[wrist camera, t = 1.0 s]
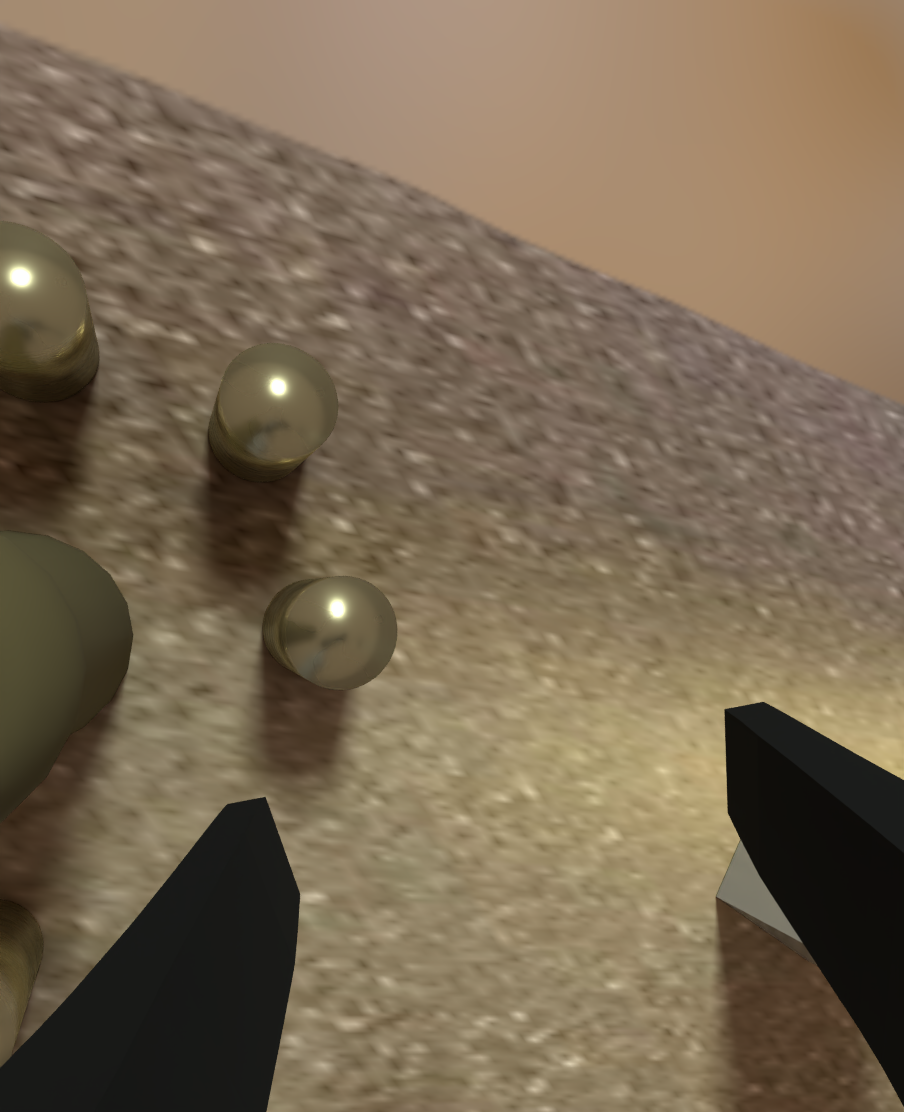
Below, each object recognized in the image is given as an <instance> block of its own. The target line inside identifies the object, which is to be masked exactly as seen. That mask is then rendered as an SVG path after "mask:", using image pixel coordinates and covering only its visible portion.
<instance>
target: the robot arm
mask: <svg viewBox="0 0 904 1112" xmlns="http://www.w3.org/2000/svg"><path fill="white" fill-rule="evenodd" d="M725 741H726V772H727V804H728V814H729V816H730V818H731V820H732V823H733V825H734V827H735V829H736V831H737V833H738V835H739V837H740V839H741V841H742V843H743V845H744V847H745V849H746V851H747V853H748V855H749V857H750V859H751V861H752V863H753V865H754V867H755V869H756V870H757V872H758V874H759V876H760V878H761V879H762V881H763V883H764V884H765V886H766V887H767V889H768V890H769V892H770V894H771V895H772V897H773V898H774V900H775V901H776V903H777V904H778V906H779V907H780V909H781V911H782V912H783V914H784V915H785V917H786V918H787V920H788V921H789V923H790V924H791V926H792V928H793V929H794V931H795V932H796V934H797V935H798V937H799V938H800V940H801V941H802V943H803V944H804V946H805V947H806V949H807V950H808V952H809V953H810V955H811V956H812V958H813V960H814V961H815V963H816V964H817V966H818V967H819V969H820V970H821V972H822V973H823V975H824V976H825V978H826V979H827V981H828V982H829V984H830V985H831V987H832V988H833V990H834V992H835V993H836V995H837V996H838V998H839V999H840V1001H841V1002H842V1004H843V1005H844V1007H845V1008H846V1010H847V1011H848V1013H849V1014H850V1016H851V1017H852V1019H853V1020H854V1022H855V1024H856V1025H857V1027H858V1028H859V1030H860V1031H861V1033H862V1035H863V1036H864V1038H865V1040H866V1041H867V1043H868V1045H869V1046H870V1048H871V1049H872V1051H873V1053H874V1054H875V1056H876V1058H877V1059H878V1061H879V1063H880V1064H881V1066H882V1068H883V1069H884V1071H885V1073H886V1075H887V1077H888V1079H889V1080H890V1082H891V1084H892V1086H893V1088H894V1090H895V1091H896V1093H897V1095H898V1097H899V1099H900V1101H901V1102H902V1104H903V1106H904V780H903V779H901V778H899V777H897V776H895V775H893V774H891V773H890V772H888V771H886V770H884V769H882V768H881V767H879V766H877V765H875V764H873V763H871V762H870V761H868V760H866V759H864V758H862V757H861V756H859V755H857V754H855V753H853V752H852V751H850V750H848V749H846V748H845V747H843V746H841V745H839V744H838V743H836V742H834V741H832V740H831V739H829V738H827V737H825V736H824V735H822V734H820V733H818V732H817V731H815V730H813V729H811V728H810V727H808V726H806V725H804V724H803V723H801V722H799V721H797V720H796V719H794V718H792V717H790V716H789V715H787V714H785V713H783V712H781V711H780V710H778V709H776V708H774V707H772V706H770V705H769V704H767V703H765V702H760V703H755V704H750V705H745V706H739V707H734V708H729V709H725ZM299 904H300V892H299V890H298V887H297V884H296V881H295V878H294V876H293V873H292V870H291V867H290V864H289V862H288V859H287V856H286V853H285V850H284V848H283V845H282V842H281V839H280V836H279V834H278V831H277V828H276V825H275V822H274V819H273V817H272V814H271V811H270V808H269V805H268V803H267V800H266V797H263V798H257V799H252V800H247V801H242V802H236V803H231V804H227V805H226V806H225V807H224V808H223V810H222V811H221V812H220V813H219V814H218V816H217V817H216V818H215V819H214V821H213V822H212V823H211V824H210V826H209V827H208V828H207V830H206V831H205V832H204V833H203V835H202V836H201V837H200V838H199V840H198V841H197V842H196V844H195V845H194V846H193V847H192V849H191V850H190V851H189V853H188V854H187V855H186V856H185V858H184V859H183V860H182V862H181V863H180V864H179V865H178V867H177V868H176V869H175V871H174V872H173V873H172V874H171V876H170V877H169V878H168V879H167V881H166V882H165V883H164V884H163V886H162V887H161V888H160V889H159V891H158V892H157V893H156V894H155V895H154V897H153V898H152V899H151V900H150V902H149V903H148V904H147V905H146V907H145V908H144V909H143V910H142V912H141V913H140V914H139V915H138V917H137V918H136V919H135V920H134V922H133V923H132V924H131V925H130V926H129V928H128V929H127V930H126V931H125V932H124V933H123V934H122V936H121V937H120V938H119V939H118V940H117V941H116V943H115V944H114V945H113V946H112V947H111V948H110V949H109V951H108V952H107V953H106V954H105V955H104V956H103V958H102V959H101V960H100V961H99V962H98V963H97V964H96V966H95V967H94V968H93V969H92V970H91V971H90V973H89V974H88V975H87V976H86V977H85V978H84V980H83V981H82V982H81V983H80V984H79V985H78V986H77V988H76V989H75V990H74V991H73V992H72V993H71V994H70V995H69V997H68V998H67V999H66V1000H65V1001H64V1002H63V1003H62V1004H61V1005H60V1006H59V1007H58V1009H57V1010H56V1011H55V1012H54V1013H53V1014H52V1015H51V1016H50V1017H49V1018H48V1019H47V1020H46V1021H45V1022H44V1023H43V1025H42V1026H41V1027H40V1028H39V1029H38V1030H37V1031H36V1032H35V1033H34V1034H33V1035H32V1036H31V1037H30V1038H29V1039H28V1040H27V1041H26V1042H25V1043H24V1044H23V1045H22V1046H21V1047H20V1048H19V1049H18V1050H17V1051H16V1052H15V1053H14V1054H13V1055H12V1056H11V1057H10V1058H9V1059H8V1060H7V1061H6V1062H5V1063H4V1064H3V1065H2V1066H1V1067H0V1112H266V1111H267V1106H268V1100H269V1095H270V1090H271V1085H272V1080H273V1075H274V1070H275V1065H276V1060H277V1055H278V1050H279V1045H280V1039H281V1034H282V1029H283V1024H284V1019H285V1014H286V1008H287V1003H288V998H289V993H290V987H291V982H292V977H293V971H294V965H295V956H296V945H297V933H298V919H299Z"/></svg>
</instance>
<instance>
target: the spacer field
mask: <svg viewBox="0 0 904 1112" xmlns="http://www.w3.org/2000/svg"><path fill="white" fill-rule="evenodd" d="M98 364H99V347H98V342H97V338H96V333H95V329H94V325H93V320H92V316H91V312H90V307H89V303H88V298H87V294H86V290H85V285H84V282H83V279H82V276H81V274H80V272H79V269H78V267H77V266H76V264H75V263H74V261H73V260H72V258H71V257H70V256H69V255H68V254H67V252H66V251H65V250H64V249H63V248H61V247H60V246H59V245H58V244H57V243H56V242H54V241H53V240H52V239H50V238H49V237H47V236H46V235H44V234H42V233H40V232H38V231H36V230H34V229H32V228H29V227H26V226H24V225H20V224H16V223H12V222H5V221H0V388H1V389H2V390H4V391H5V392H7V393H9V394H11V395H13V396H16V397H18V398H21V399H25V400H29V401H35V402H53V401H59V400H63V399H66V398H69V397H71V396H73V395H75V394H77V393H78V392H80V391H81V390H82V389H84V388H85V387H86V386H87V385H88V384H89V383H90V381H91V380H92V378H93V377H94V375H95V373H96V371H97V367H98ZM337 415H338V399H337V393H336V390H335V387H334V384H333V382H332V380H331V378H330V376H329V375H328V373H327V372H326V370H325V369H324V368H323V366H322V365H321V364H320V363H319V362H318V361H317V360H315V359H314V358H313V357H312V356H310V355H309V354H307V353H306V352H304V351H302V350H300V349H298V348H295V347H293V346H290V345H285V344H278V343H267V344H260V345H257V346H254V347H251V348H249V349H247V350H245V351H243V352H242V353H240V354H239V355H238V356H237V357H236V358H235V359H234V360H233V361H232V362H231V363H230V364H229V366H228V368H227V369H226V371H225V374H224V376H223V379H222V382H221V385H220V388H219V392H218V395H217V398H216V401H215V405H214V408H213V411H212V414H211V418H210V422H209V429H208V431H209V441H210V444H211V448H212V450H213V452H214V454H215V456H216V457H217V459H218V460H219V462H220V463H221V464H222V465H223V466H224V467H225V468H226V469H227V470H228V471H230V472H231V473H233V474H234V475H236V476H238V477H240V478H242V479H245V480H249V481H253V482H271V481H275V480H278V479H281V478H283V477H285V476H286V475H288V474H289V473H291V472H292V471H293V470H294V469H295V468H297V467H298V466H299V465H300V464H301V463H302V462H303V461H304V460H305V459H306V458H307V457H309V456H310V455H311V454H312V453H313V452H314V451H315V450H316V449H317V448H318V447H320V446H321V445H322V444H323V443H324V442H325V441H326V440H327V438H328V437H329V436H330V434H331V432H332V430H333V429H334V426H335V423H336V420H337ZM263 636H264V641H265V644H266V646H267V648H268V651H269V652H270V654H271V655H272V657H273V658H274V659H275V660H276V661H277V662H278V663H279V664H281V665H282V666H284V667H285V668H287V669H289V670H290V671H292V672H294V673H296V674H298V675H299V676H301V677H303V678H305V679H307V680H308V681H310V682H312V683H314V684H316V685H318V686H320V687H323V688H327V689H332V690H348V689H353V688H357V687H359V686H362V685H364V684H366V683H368V682H370V681H371V680H372V679H374V678H375V677H376V676H377V675H378V674H380V673H381V672H382V670H383V669H384V668H385V667H386V665H387V664H388V662H389V661H390V659H391V657H392V654H393V652H394V649H395V646H396V641H397V622H396V617H395V614H394V611H393V608H392V606H391V604H390V603H389V601H388V599H387V598H386V597H385V595H384V594H383V593H382V592H381V591H380V590H379V589H378V588H376V587H375V586H374V585H372V584H371V583H369V582H367V581H365V580H362V579H360V578H356V577H350V576H336V577H327V578H317V579H308V580H301V581H298V582H294V583H292V584H290V585H288V586H286V587H285V588H283V589H282V590H281V591H280V592H278V593H277V594H276V595H275V597H274V598H273V599H272V601H271V602H270V604H269V605H268V607H267V610H266V612H265V615H264V620H263ZM42 953H43V937H42V932H41V929H40V926H39V924H38V923H37V921H36V919H35V918H34V917H33V916H32V914H31V913H30V912H28V911H27V910H26V909H25V908H23V907H22V906H20V905H18V904H16V903H13V902H10V901H7V900H1V899H0V1067H1V1066H2V1065H3V1064H4V1063H5V1062H6V1061H7V1060H8V1059H9V1058H10V1057H11V1054H12V1051H13V1048H14V1045H15V1041H16V1038H17V1035H18V1032H19V1029H20V1026H21V1022H22V1019H23V1016H24V1013H25V1010H26V1006H27V1003H28V1000H29V997H30V994H31V991H32V987H33V984H34V981H35V978H36V975H37V972H38V968H39V965H40V962H41V958H42Z"/></svg>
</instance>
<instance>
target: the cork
mask: <svg viewBox="0 0 904 1112" xmlns="http://www.w3.org/2000/svg"><path fill="white" fill-rule="evenodd" d="M132 640H133V632H132V626H131V621H130V616H129V610H128V605H127V602H126V600H125V599H124V597H123V595H122V594H121V592H120V590H119V589H118V587H117V585H116V584H115V582H114V580H113V578H112V577H111V575H110V574H109V573H108V572H107V571H106V570H104V569H103V568H102V567H101V566H100V565H99V564H98V563H96V562H95V561H94V560H93V559H92V558H91V557H89V556H88V555H87V554H86V553H85V552H84V551H82V550H79V549H77V548H75V547H73V546H70V545H68V544H66V543H63V542H61V541H59V540H56V539H54V538H52V537H50V536H45V535H38V534H31V533H23V532H16V531H0V823H1V822H2V821H3V820H4V819H5V818H6V817H7V816H8V815H9V814H10V813H11V812H12V811H13V810H14V809H15V808H16V807H17V806H18V805H19V804H20V803H21V802H22V801H23V800H24V799H25V798H26V797H27V796H28V795H29V794H30V793H31V792H32V791H33V790H34V789H35V788H36V787H37V786H38V785H39V784H40V783H41V782H42V781H43V780H44V779H45V778H46V777H47V775H48V773H49V772H50V770H51V768H52V766H53V764H54V762H55V760H56V759H57V757H58V755H59V753H60V751H61V749H62V747H63V746H64V744H65V742H66V740H67V738H68V736H69V735H70V734H72V733H74V732H75V731H77V730H79V729H81V728H83V727H84V726H85V725H86V724H87V723H88V722H89V721H90V720H91V719H92V718H93V717H94V716H95V715H96V714H97V713H98V712H99V711H100V710H101V709H102V708H103V707H104V706H105V705H106V704H107V703H108V702H109V701H111V699H112V697H113V696H114V694H115V692H116V690H117V688H118V686H119V684H120V682H121V680H122V679H123V677H124V675H125V673H126V671H127V669H128V665H129V658H130V652H131V646H132Z"/></svg>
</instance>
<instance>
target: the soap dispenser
mask: <svg viewBox="0 0 904 1112" xmlns="http://www.w3.org/2000/svg"><path fill="white" fill-rule="evenodd" d="M716 897H717V898H719V899H720V900H722V901H723V902H725V903H726V904H727V905H729V906H730V907H732V908H733V909H735V910H736V911H737V912H739V913H740V914H742V915H743V916H745V917H746V918H747V919H749V920H750V921H752V922H753V923H755V924H756V925H757V926H759V927H760V928H762V929H763V930H765V931H766V932H767V933H769V934H770V935H772V936H773V937H775V938H776V939H777V940H779V941H780V942H782V943H783V944H785V945H786V946H787V947H789V948H790V949H792V950H793V951H795V952H796V953H797V954H799V955H800V956H802V957H803V958H805V959H806V960H808V961H809V962H811V963H813V964H815V965H816V966H817V964H816V963H815V961H814V960H813V958H812V956H811V955H810V953H809V952H808V950H807V949H806V947H805V946H804V944H803V943H802V941H801V940H800V938H799V937H798V935H797V934H796V932H795V931H794V929H793V928H792V926H791V924H790V923H789V921H788V920H787V918H786V917H785V915H784V914H783V912H782V911H781V909H780V907H779V906H778V904H777V903H776V901H775V900H774V898H773V897H772V895H771V894H770V892H769V890H768V889H767V887H766V886H765V884H764V883H763V881H762V879H761V878H760V876H759V874H758V872H757V870H756V869H755V867H754V865H753V863H752V861H751V859H750V857H749V855H748V853H747V851H746V849H745V847H744V845H743V843H742V841H741V840H740V843H739V845H738V847H737V849H736V852H735V854H734V856H733V859H732V861H731V863H730V866H729V868H728V870H727V873H726V875H725V877H724V880H723V882H722V884H721V887H720V889H719V891H718V894H717V896H716Z"/></svg>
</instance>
